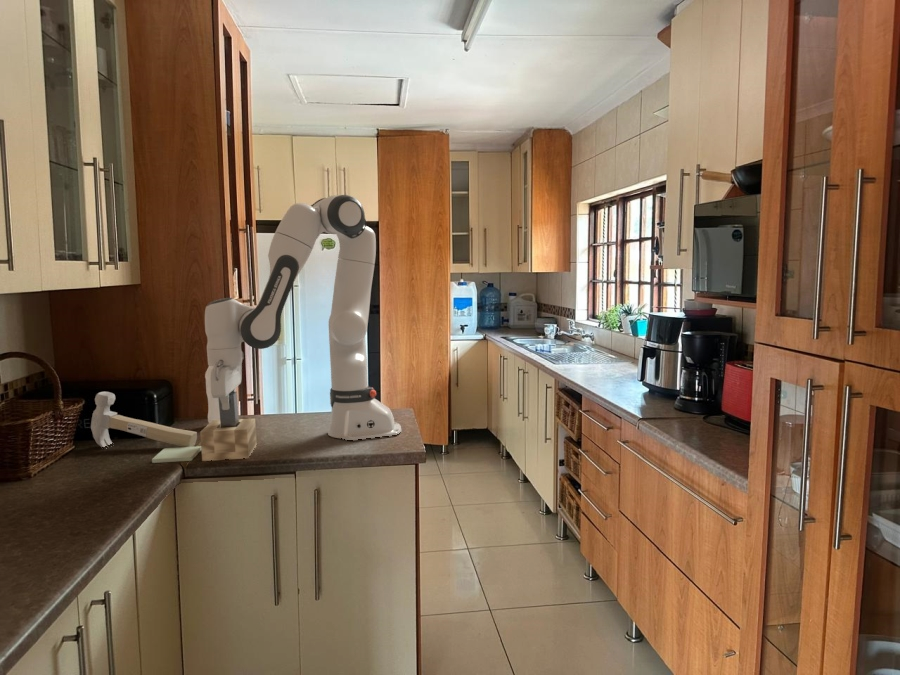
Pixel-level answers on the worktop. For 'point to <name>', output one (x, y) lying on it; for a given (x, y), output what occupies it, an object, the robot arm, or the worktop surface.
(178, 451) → the pad
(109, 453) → the worktop surface
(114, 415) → the hammer
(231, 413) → the peg
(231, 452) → the socket block
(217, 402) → the water bottle
